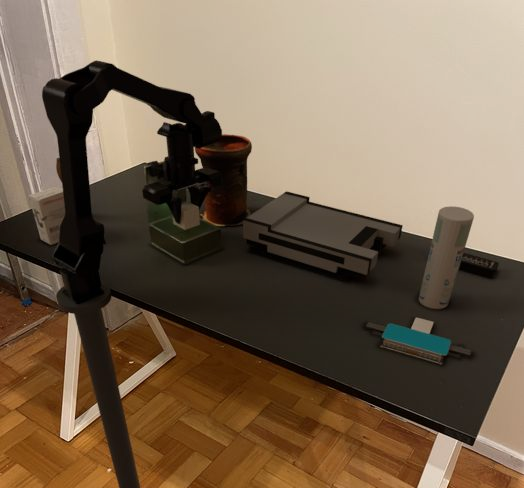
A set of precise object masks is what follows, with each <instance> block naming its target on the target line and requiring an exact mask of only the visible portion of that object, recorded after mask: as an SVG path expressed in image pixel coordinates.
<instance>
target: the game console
mask: <svg viewBox="0 0 524 488" xmlns="http://www.w3.org/2000/svg"><path fill="white" fill-rule="evenodd" d="M249 215H250V216H249V217H247V218H246V219H244V220H243V224H242V238H243V239H245V240H246V241H245V242H246V243H245V244H246V245H249V246H251V247H252V253H253V254H256V255H259V256H262V257H265V258H269V259H272V260H275V261H278V262H282V263H285V264H288V265H292V266H295V267H298V268H301V269H304V270H307V271H310V272H314V273H316V274H320V275H324V276H326V277H329V278H332V279H336V280H339V281H343V282H347V281H348V280H349V279H350V277H353V278H356V279H357V278H358V277H359V276H361V274H362V275H365V276H368V275H369V274H370V273H371V272H372V270H373V269H374V268H375V267H376V266H377V261H378V255H379V254H380V253H381V252H382V251H383V250H384V249H385V247H387V246H389V247H394V246H395V245H396V243H397V242H398V241H399V240H400V239H401V236H402V231H403V224H399V223H396V222H392V221H388V220H383V219H379V218H376V217H372V216H367V215H364V214H359V213H356V212H352V211H347V210H344V209H340V208H336V207H332V206H328V205H325V204H320V203H317V202H312V201H310V196H307V195H303V194H299V193H295V192H290V191H287V190H286V191H285V192H283V193H282V194H280V195H279V196H277V197H275V198H274V199H272V200H271V201H270V202H268V203H266V204H265V205H263V206H262V207H260V208H259V209H258V210H256V211H255V212H253V213H251V214H249Z"/></svg>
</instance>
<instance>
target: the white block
mask: <svg viewBox="0 0 524 488" xmlns="http://www.w3.org/2000/svg"><path fill="white" fill-rule="evenodd" d="M200 218H201V217H200V210H199V207H198V206H196V205H194V204H192V203H191V201H188V200H187V201H186V202H183V203H182V205H181V221H180V224H178V223H176V221H175V219H174V217H173V223H174V224H175V225H176V226H178V227H180V228H182V229H184V230H187V229H189V228H192V227H194V226H197V225H200Z"/></svg>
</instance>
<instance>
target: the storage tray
mask: <svg viewBox="0 0 524 488" xmlns="http://www.w3.org/2000/svg"><path fill="white" fill-rule="evenodd" d="M199 218H200V225H197V226H194V227H192V228H189V229H187V230H184V229H182V228H180V227H178V226H176V225H175V224H174V223H173V215H171V216H168V217H165V218H162V219H159V220H156V221H154V222H151V223H148V227H149V236H150V243H151V246H152V247H154V248H155V249H157V250H159V251H161V253H164V255H165V254H166V255H167V256H169V257H171V258H172V259H174V260H176V261H177V262H179V263H180V264H182V265H183V266H186V265H188V264H190V263H194V262H196V261H197V260H200V259H203V258H204V257H207V256H209V255H212V254H214V253H216V252H219V251H221V250H222V231H221V230H222V229H221V227H220V226H215V225H213V224H211V223H209V222H207V221H205V220H203V218H201V217H199Z"/></svg>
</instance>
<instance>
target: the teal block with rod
mask: <svg viewBox="0 0 524 488" xmlns="http://www.w3.org/2000/svg"><path fill="white" fill-rule="evenodd" d="M434 323H435V321H432V320H427V319H424V318H420V317H415V318H414V321H413V323H412V326H411V328H409V327H405V326H402V325H398V324H395V323H390V322H389V323H387V326H385V325H381V324H377V323H374V322H369V321H368V322H367V324H366V325H365V326H366V327H365V329H366V330H371V331H372V333H371V334H372V335H375V336H379V337H381V338H382V339H383V340H382V342H381V344H380V348H382V349H385V350H388V351H391V352H394V353H398V354H401V355H406V356H409V357H411V358H415V359H418V360H423V361H426V362H430V363H432V364H436V365H438V366H439V365H440V366H442V365H443V363H444V359H445V356H449V357H452V358H456V359H460V358H461V356H462V357H466V358H470V357H471V354H472V350H471V349H467V348H465V347H462V346H457V345H453V344H452V340H451V339H449V338H445V337H442V336H438V335H435V334H431V331H432V330H433V329H432V328H433V327H434Z"/></svg>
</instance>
